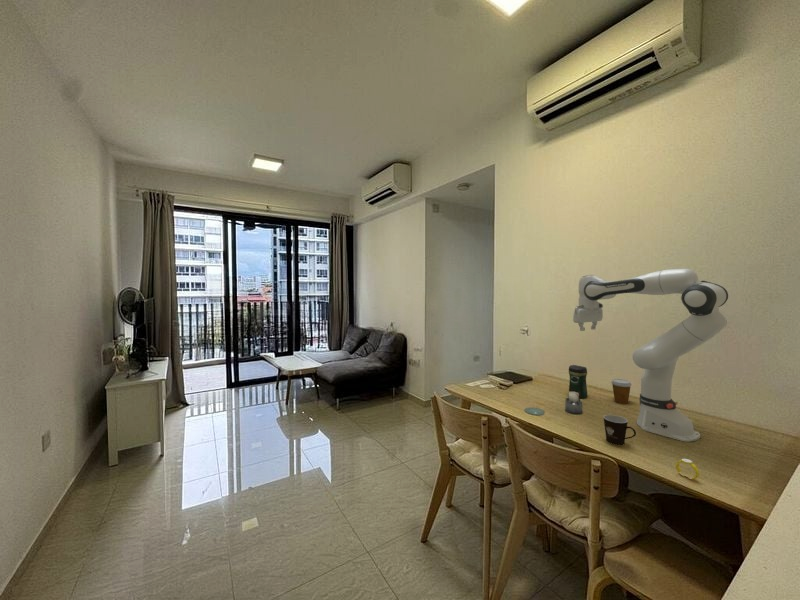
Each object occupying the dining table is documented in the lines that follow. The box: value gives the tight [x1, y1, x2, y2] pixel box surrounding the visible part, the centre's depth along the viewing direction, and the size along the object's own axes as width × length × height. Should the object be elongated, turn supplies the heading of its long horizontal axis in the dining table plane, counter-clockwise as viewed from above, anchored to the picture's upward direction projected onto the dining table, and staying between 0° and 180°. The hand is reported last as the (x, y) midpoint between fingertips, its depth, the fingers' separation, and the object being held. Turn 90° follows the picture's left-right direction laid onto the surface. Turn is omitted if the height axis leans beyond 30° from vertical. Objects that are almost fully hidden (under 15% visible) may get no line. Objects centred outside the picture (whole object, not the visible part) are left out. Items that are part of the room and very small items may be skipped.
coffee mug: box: [602, 414, 637, 446], centre depth 134 cm, size 12×9×10 cm
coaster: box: [524, 406, 546, 416], centre depth 170 cm, size 10×10×1 cm
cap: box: [568, 390, 579, 404], centre depth 169 cm, size 5×4×5 cm
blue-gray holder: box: [564, 396, 583, 415], centre depth 169 cm, size 8×8×6 cm
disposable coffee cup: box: [611, 378, 632, 405], centre depth 181 cm, size 10×10×12 cm
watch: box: [675, 458, 700, 480], centre depth 110 cm, size 6×3×6 cm, turn 24°
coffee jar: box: [568, 364, 588, 399], centre depth 192 cm, size 10×8×19 cm
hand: (587, 330), depth 174 cm, fingers open, 8 cm apart
